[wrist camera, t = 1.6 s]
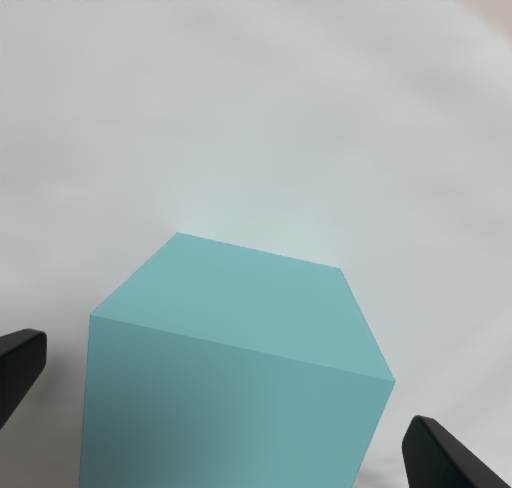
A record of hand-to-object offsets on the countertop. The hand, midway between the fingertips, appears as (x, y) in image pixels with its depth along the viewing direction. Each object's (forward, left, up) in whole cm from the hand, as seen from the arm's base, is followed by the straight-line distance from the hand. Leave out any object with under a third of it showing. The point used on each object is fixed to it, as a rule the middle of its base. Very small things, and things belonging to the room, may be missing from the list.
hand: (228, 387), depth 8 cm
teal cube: (0, 0, -3) cm, 3 cm away
